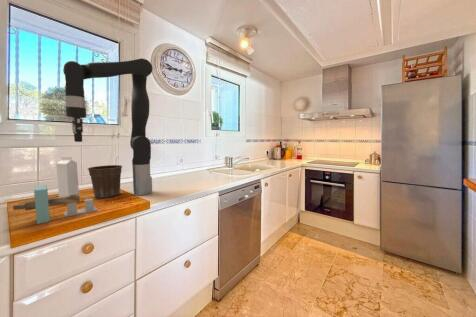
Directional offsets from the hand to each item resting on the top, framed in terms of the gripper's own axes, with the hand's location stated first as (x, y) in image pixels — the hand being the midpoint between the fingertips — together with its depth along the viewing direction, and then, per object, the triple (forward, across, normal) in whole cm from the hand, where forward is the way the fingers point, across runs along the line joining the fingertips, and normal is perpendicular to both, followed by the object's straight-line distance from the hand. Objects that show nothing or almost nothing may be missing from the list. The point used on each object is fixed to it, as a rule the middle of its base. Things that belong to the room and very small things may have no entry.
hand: (78, 141), depth 98 cm
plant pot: (+30, +9, -12) cm, 34 cm away
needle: (+25, -15, +12) cm, 32 cm away
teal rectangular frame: (+30, -15, +14) cm, 36 cm away
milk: (+30, +17, +4) cm, 35 cm away
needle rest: (+30, -15, +2) cm, 34 cm away
